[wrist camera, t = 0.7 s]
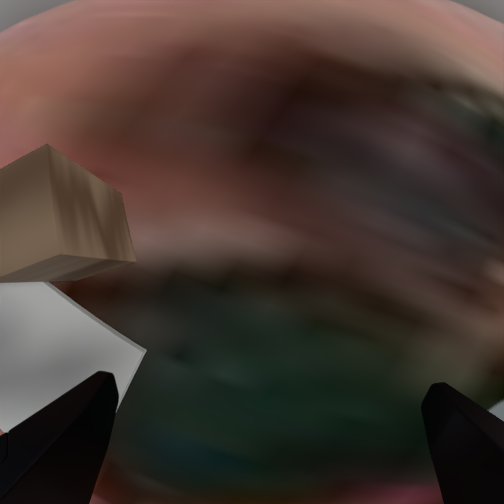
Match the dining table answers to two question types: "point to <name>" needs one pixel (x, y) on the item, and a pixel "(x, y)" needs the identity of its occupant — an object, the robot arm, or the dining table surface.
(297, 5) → the dining table surface
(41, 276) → the walnut block
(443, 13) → the dining table surface
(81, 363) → the grey mat
